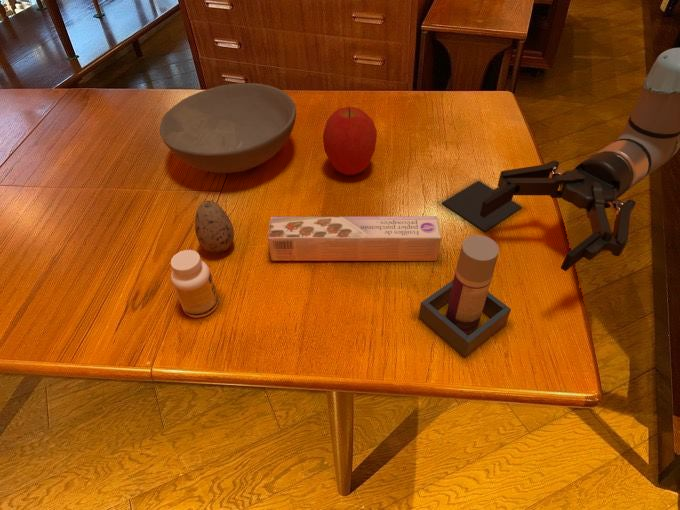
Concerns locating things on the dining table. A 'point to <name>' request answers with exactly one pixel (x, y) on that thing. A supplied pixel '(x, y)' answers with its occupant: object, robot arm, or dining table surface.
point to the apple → (349, 140)
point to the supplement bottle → (193, 284)
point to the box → (355, 238)
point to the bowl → (229, 126)
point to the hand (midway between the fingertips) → (522, 234)
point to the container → (472, 282)
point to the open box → (452, 332)
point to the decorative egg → (213, 227)
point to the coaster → (479, 206)
